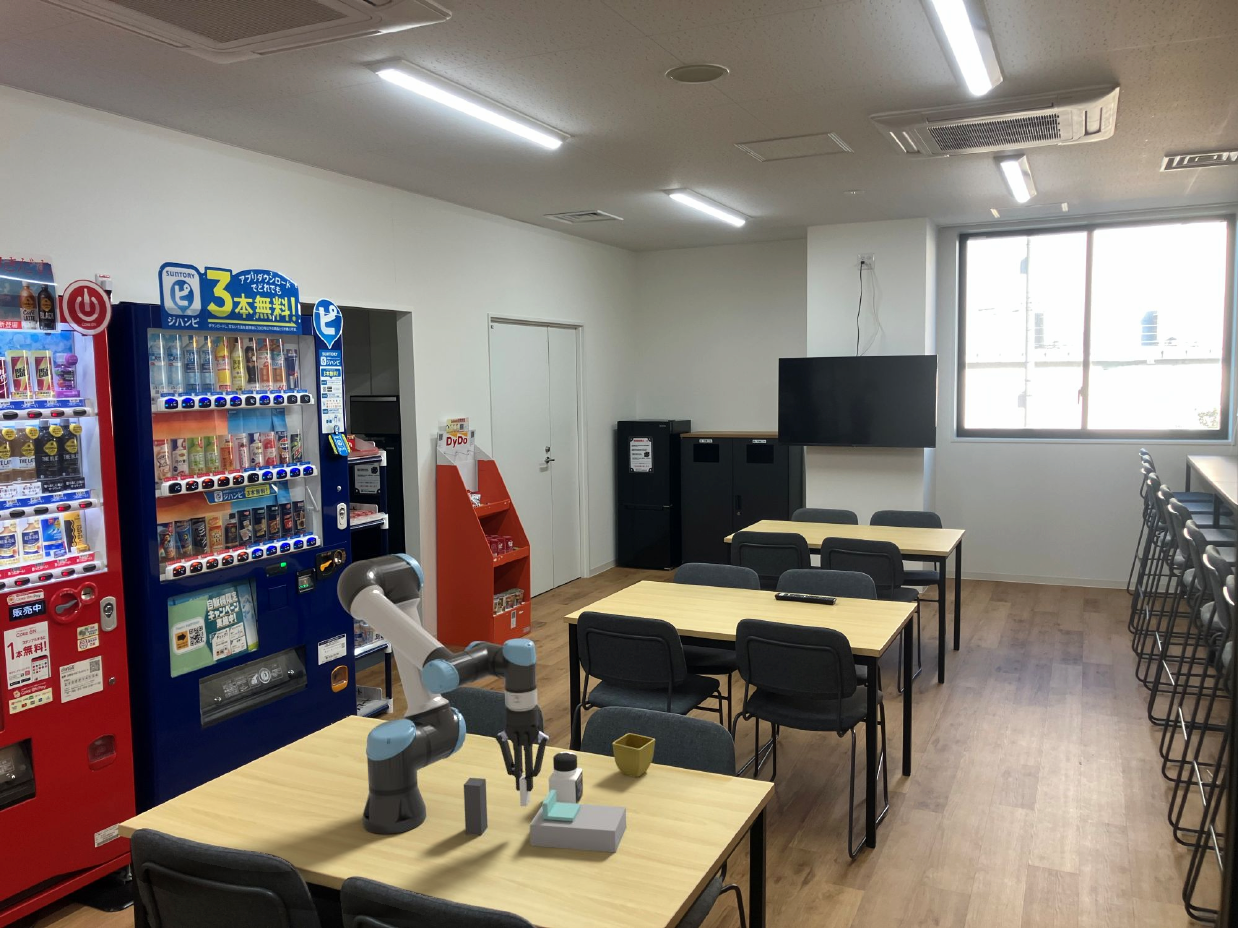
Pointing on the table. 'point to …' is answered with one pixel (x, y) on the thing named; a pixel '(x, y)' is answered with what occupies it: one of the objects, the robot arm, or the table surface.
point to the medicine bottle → (566, 778)
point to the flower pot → (633, 754)
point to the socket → (581, 829)
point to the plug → (475, 806)
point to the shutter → (558, 809)
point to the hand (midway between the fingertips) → (525, 803)
